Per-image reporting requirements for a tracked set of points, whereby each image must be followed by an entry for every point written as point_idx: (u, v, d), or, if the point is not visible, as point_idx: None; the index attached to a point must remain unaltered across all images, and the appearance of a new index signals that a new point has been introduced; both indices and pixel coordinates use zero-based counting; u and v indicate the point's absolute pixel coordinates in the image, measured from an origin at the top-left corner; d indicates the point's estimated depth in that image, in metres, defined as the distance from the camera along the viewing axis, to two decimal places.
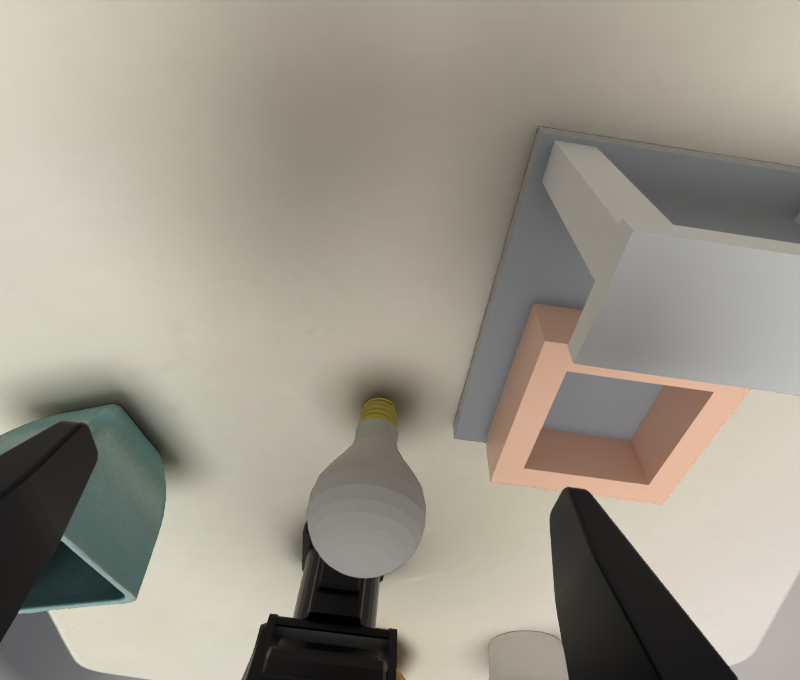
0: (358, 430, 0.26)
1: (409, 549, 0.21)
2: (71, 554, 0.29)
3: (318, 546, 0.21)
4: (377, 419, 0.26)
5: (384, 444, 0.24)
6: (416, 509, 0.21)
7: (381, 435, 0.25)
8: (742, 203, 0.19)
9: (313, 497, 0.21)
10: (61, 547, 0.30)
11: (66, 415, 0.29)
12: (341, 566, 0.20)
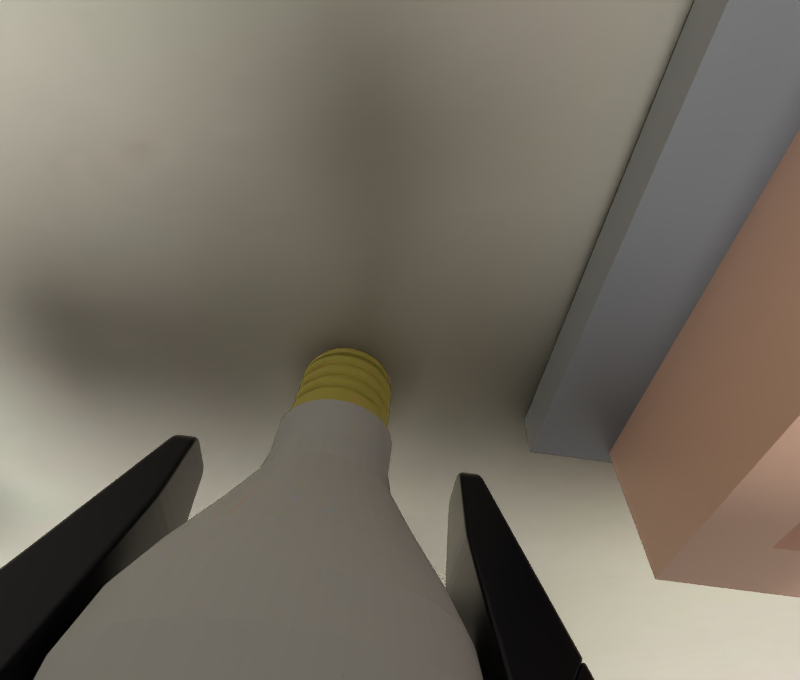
0: (278, 432, 0.09)
1: None
2: None
3: None
4: (334, 400, 0.09)
5: (344, 480, 0.07)
6: None
7: (339, 448, 0.08)
8: None
9: None
10: None
11: None
12: None
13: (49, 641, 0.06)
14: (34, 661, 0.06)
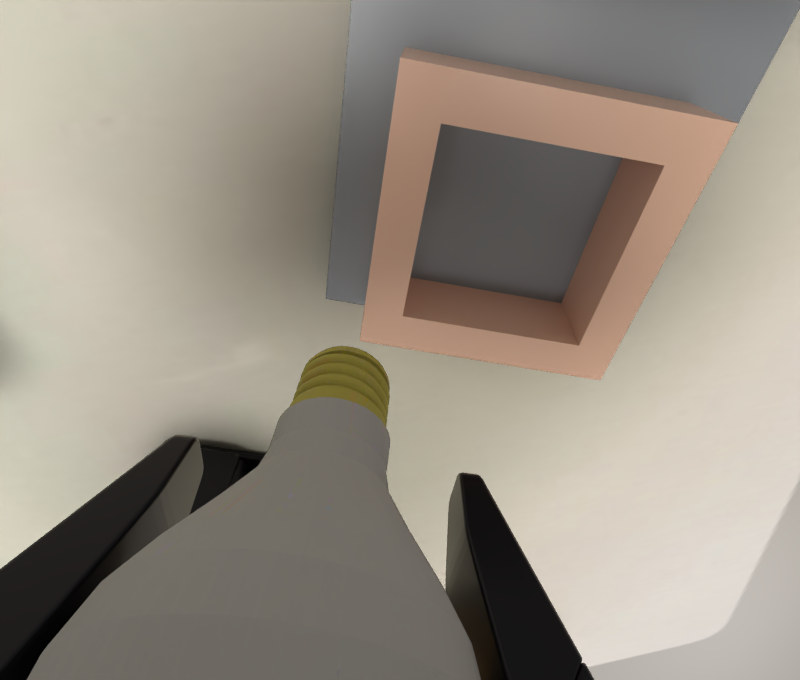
0: (276, 431, 0.09)
1: None
2: None
3: None
4: (332, 398, 0.09)
5: (342, 477, 0.07)
6: None
7: (337, 446, 0.08)
8: None
9: None
10: None
11: None
12: None
13: (49, 641, 0.06)
14: (34, 661, 0.06)
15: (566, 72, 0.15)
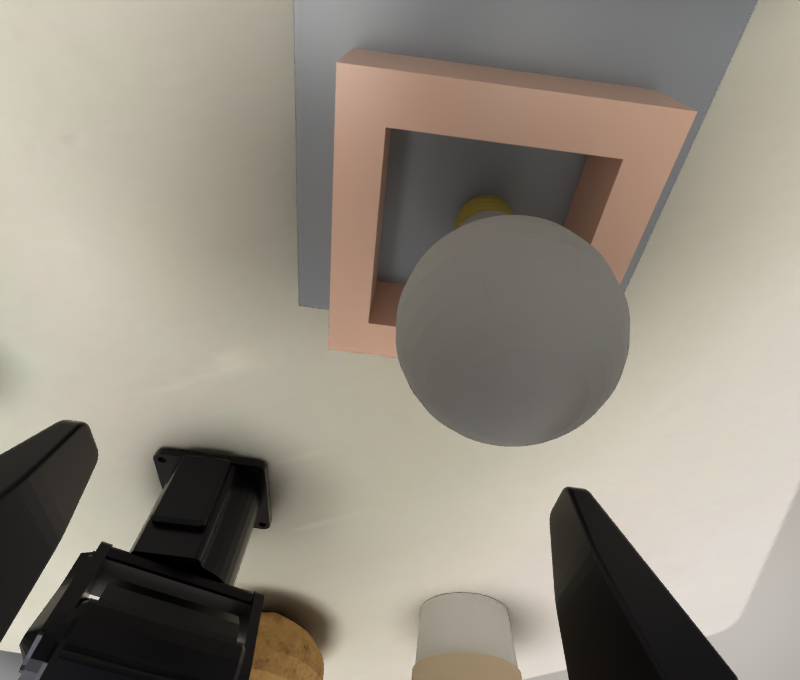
0: None
1: (615, 375, 0.10)
2: None
3: (431, 372, 0.10)
4: (493, 212, 0.15)
5: None
6: (625, 300, 0.10)
7: None
8: None
9: (413, 287, 0.11)
10: None
11: None
12: (484, 407, 0.10)
13: None
14: None
15: (522, 65, 0.15)
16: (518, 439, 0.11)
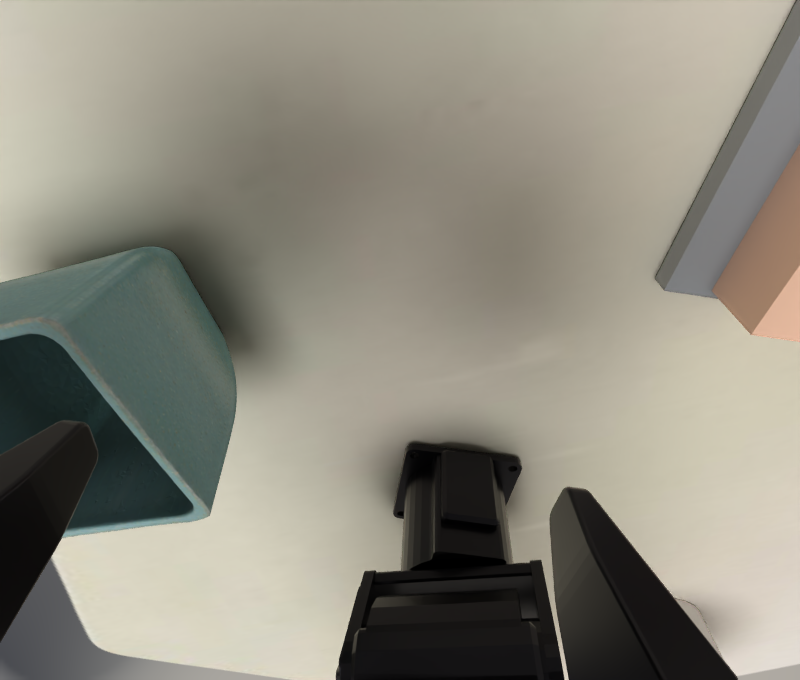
0: None
1: None
2: (104, 462, 0.20)
3: None
4: None
5: None
6: None
7: None
8: None
9: None
10: None
11: None
12: None
13: None
14: None
15: None
16: None
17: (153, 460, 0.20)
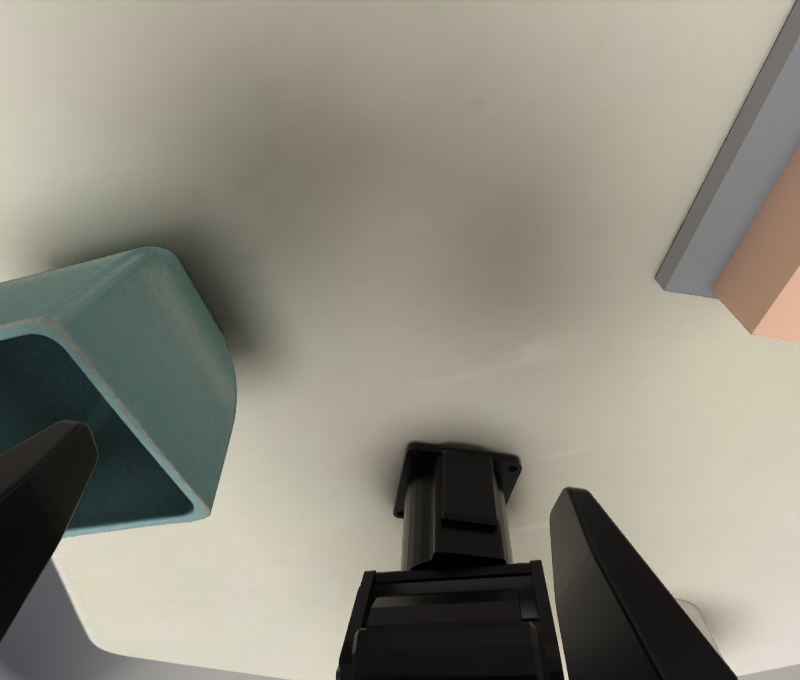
0: None
1: None
2: (104, 462, 0.20)
3: None
4: None
5: None
6: None
7: None
8: None
9: None
10: None
11: None
12: None
13: None
14: None
15: None
16: None
17: (153, 460, 0.20)
